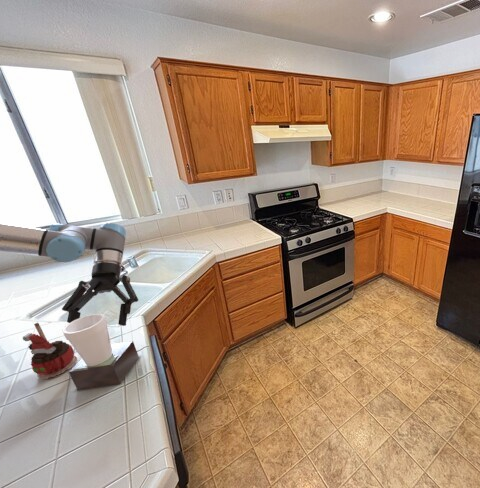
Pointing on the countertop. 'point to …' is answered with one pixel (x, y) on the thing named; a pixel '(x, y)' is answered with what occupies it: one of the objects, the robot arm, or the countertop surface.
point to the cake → (49, 355)
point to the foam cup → (90, 338)
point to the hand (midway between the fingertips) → (97, 329)
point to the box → (106, 368)
